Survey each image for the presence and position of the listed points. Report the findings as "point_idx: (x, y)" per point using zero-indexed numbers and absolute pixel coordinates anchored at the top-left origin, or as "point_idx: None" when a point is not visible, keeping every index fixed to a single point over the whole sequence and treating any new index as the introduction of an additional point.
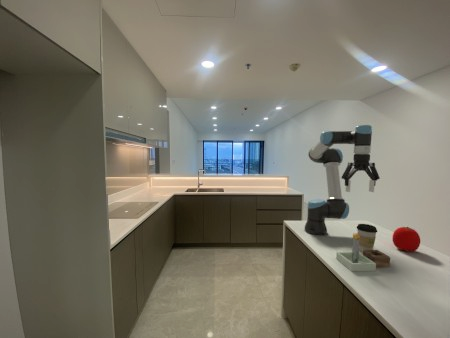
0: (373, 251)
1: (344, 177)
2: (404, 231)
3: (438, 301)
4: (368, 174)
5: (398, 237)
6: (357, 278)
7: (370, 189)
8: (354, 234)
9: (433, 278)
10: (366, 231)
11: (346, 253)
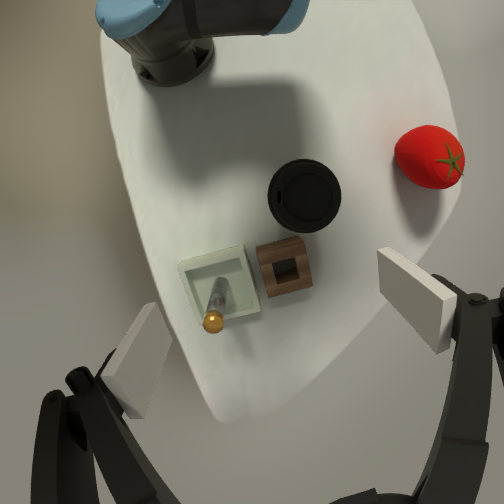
0: (285, 258)
1: (73, 437)
2: (434, 175)
3: (314, 369)
4: (450, 388)
5: (410, 165)
6: (205, 338)
7: (387, 274)
8: (206, 325)
9: (368, 302)
10: (289, 229)
11: (205, 265)
